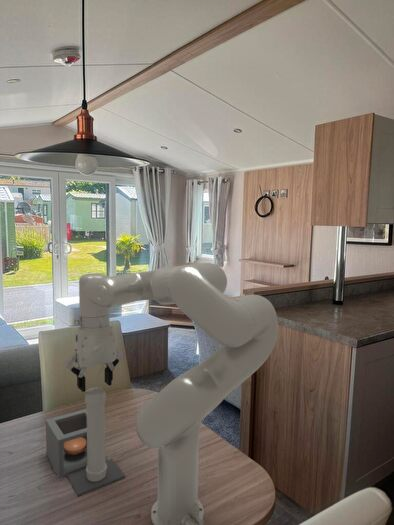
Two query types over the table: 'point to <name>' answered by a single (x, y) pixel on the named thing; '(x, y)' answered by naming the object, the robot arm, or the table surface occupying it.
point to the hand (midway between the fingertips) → (95, 386)
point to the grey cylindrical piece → (95, 433)
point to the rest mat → (85, 486)
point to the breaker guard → (61, 432)
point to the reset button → (75, 446)
